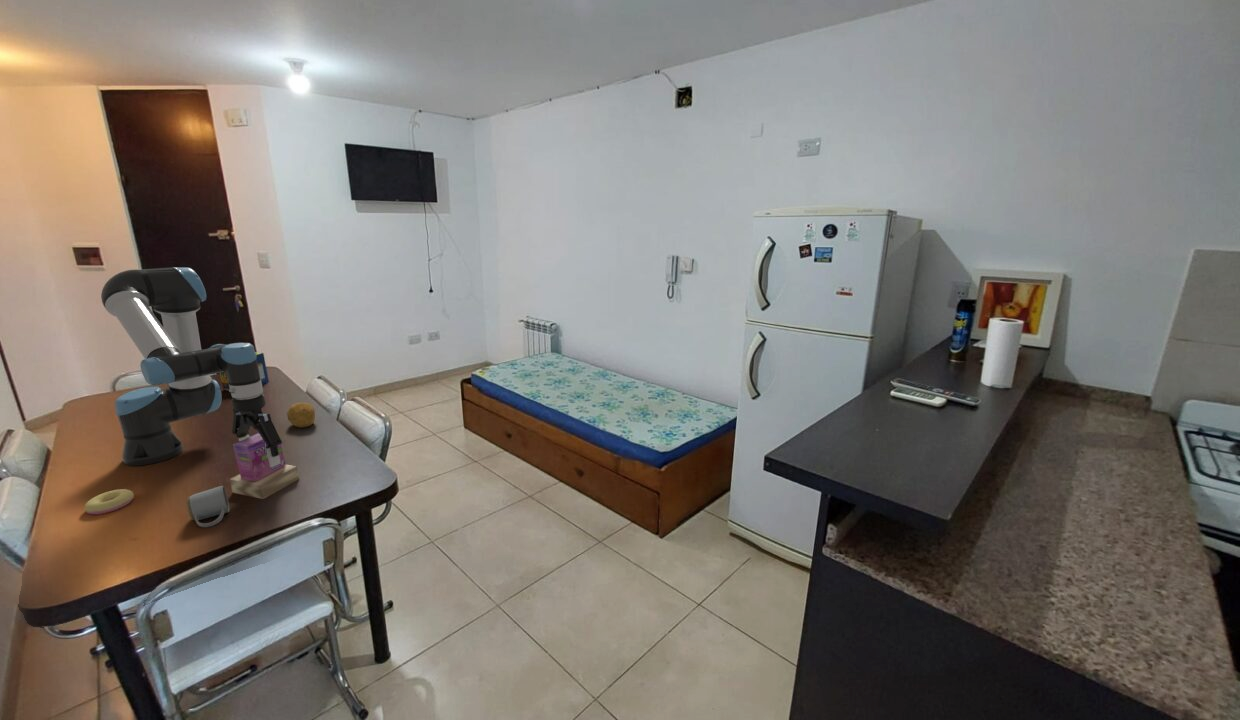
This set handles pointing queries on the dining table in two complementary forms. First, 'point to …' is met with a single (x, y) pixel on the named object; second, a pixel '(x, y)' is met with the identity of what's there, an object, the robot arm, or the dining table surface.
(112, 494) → the donut
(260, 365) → the protein box
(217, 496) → the ceramic mug
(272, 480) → the maple block
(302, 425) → the potato
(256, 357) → the robot arm
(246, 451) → the box
